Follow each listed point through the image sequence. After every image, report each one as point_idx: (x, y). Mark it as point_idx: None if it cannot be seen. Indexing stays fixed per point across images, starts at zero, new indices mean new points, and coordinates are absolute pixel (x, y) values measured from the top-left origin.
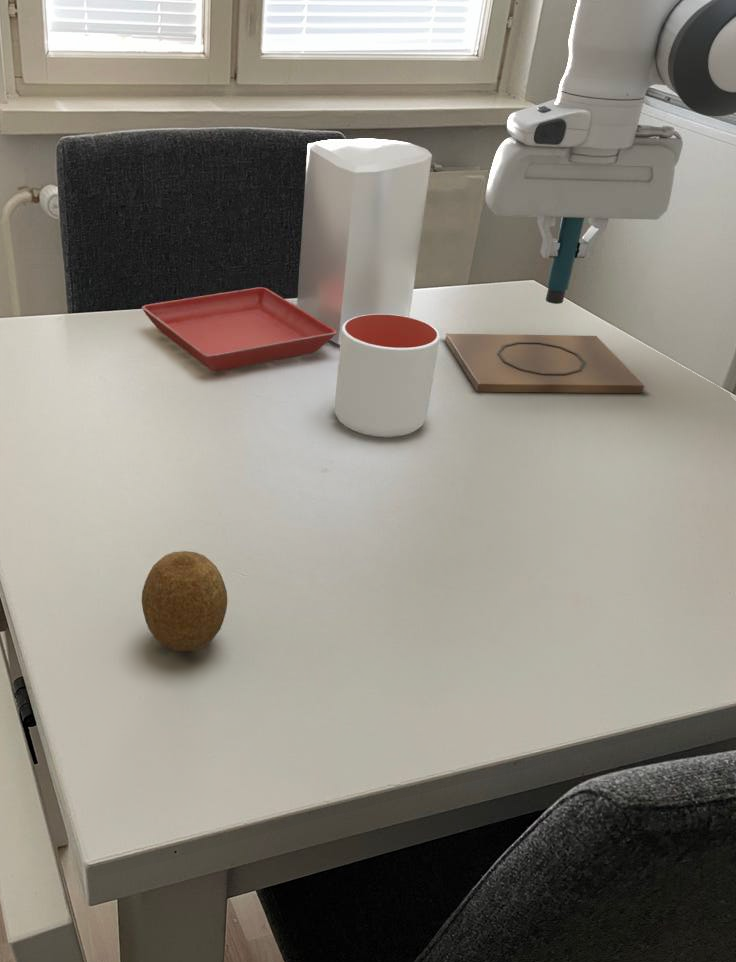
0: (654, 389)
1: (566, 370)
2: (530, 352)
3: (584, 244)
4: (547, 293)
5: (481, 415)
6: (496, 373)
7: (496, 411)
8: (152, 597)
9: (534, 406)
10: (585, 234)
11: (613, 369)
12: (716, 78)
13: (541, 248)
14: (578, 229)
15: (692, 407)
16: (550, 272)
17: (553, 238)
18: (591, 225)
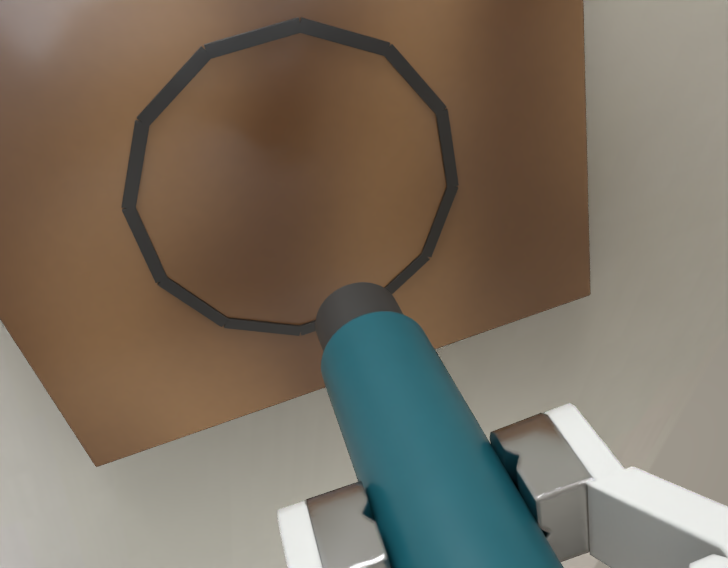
0: (623, 239)
1: (380, 272)
2: (260, 149)
3: (568, 552)
4: (323, 349)
5: (132, 554)
6: (143, 379)
7: (169, 522)
8: None
9: (269, 461)
10: (622, 506)
11: (537, 209)
12: None
13: (281, 536)
14: None
15: (673, 316)
16: (340, 427)
17: (371, 566)
18: (699, 540)
